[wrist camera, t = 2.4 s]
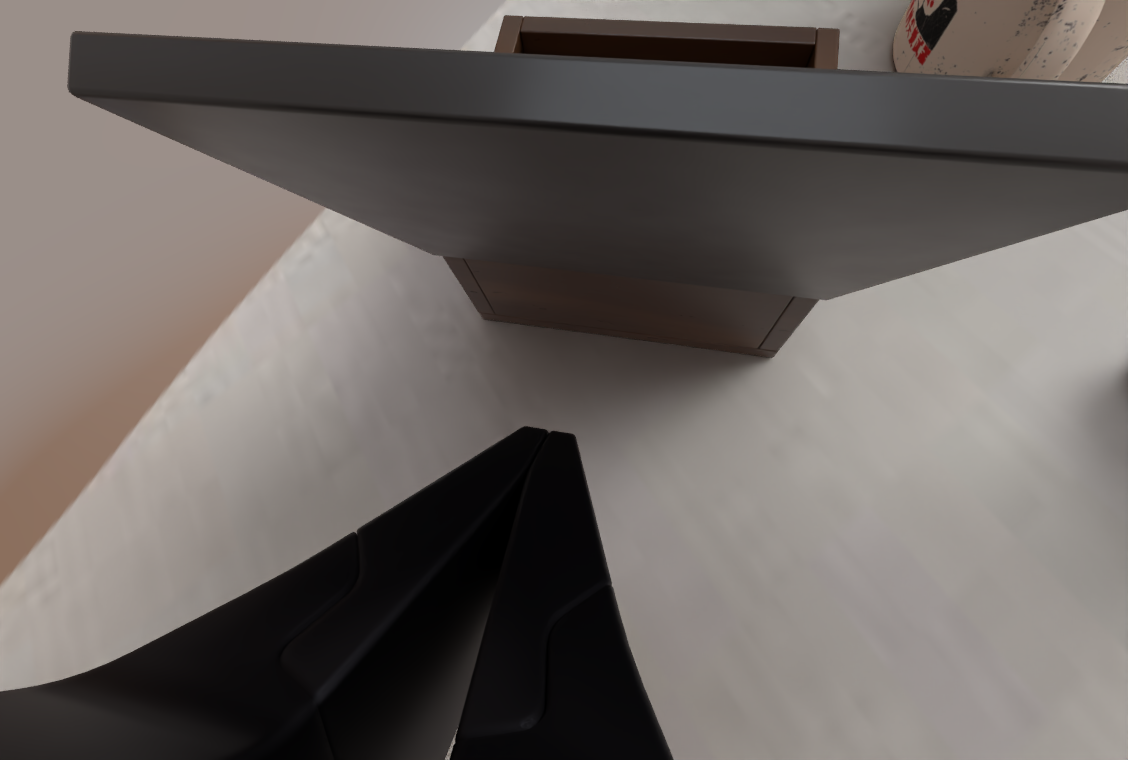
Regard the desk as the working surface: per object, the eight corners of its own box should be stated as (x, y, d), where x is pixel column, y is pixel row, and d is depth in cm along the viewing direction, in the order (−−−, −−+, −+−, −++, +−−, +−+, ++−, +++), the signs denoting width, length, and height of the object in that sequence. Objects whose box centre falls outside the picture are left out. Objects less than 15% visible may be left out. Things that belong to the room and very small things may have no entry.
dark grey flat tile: (67, 27, 7) (62, 93, 7) (1265, 85, 5) (1243, 178, 5) (434, 231, 18) (431, 255, 18) (832, 273, 16) (828, 300, 16)
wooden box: (529, 127, 27) (504, 14, 21) (791, 146, 25) (840, 27, 19) (482, 319, 24) (437, 250, 18) (773, 358, 22) (825, 294, 16)
